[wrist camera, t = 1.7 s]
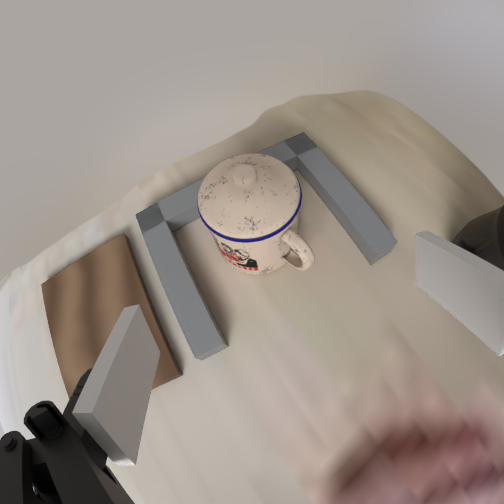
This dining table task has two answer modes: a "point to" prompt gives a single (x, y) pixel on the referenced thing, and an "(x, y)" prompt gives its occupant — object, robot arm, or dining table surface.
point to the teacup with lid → (254, 214)
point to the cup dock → (186, 210)
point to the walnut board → (99, 310)
